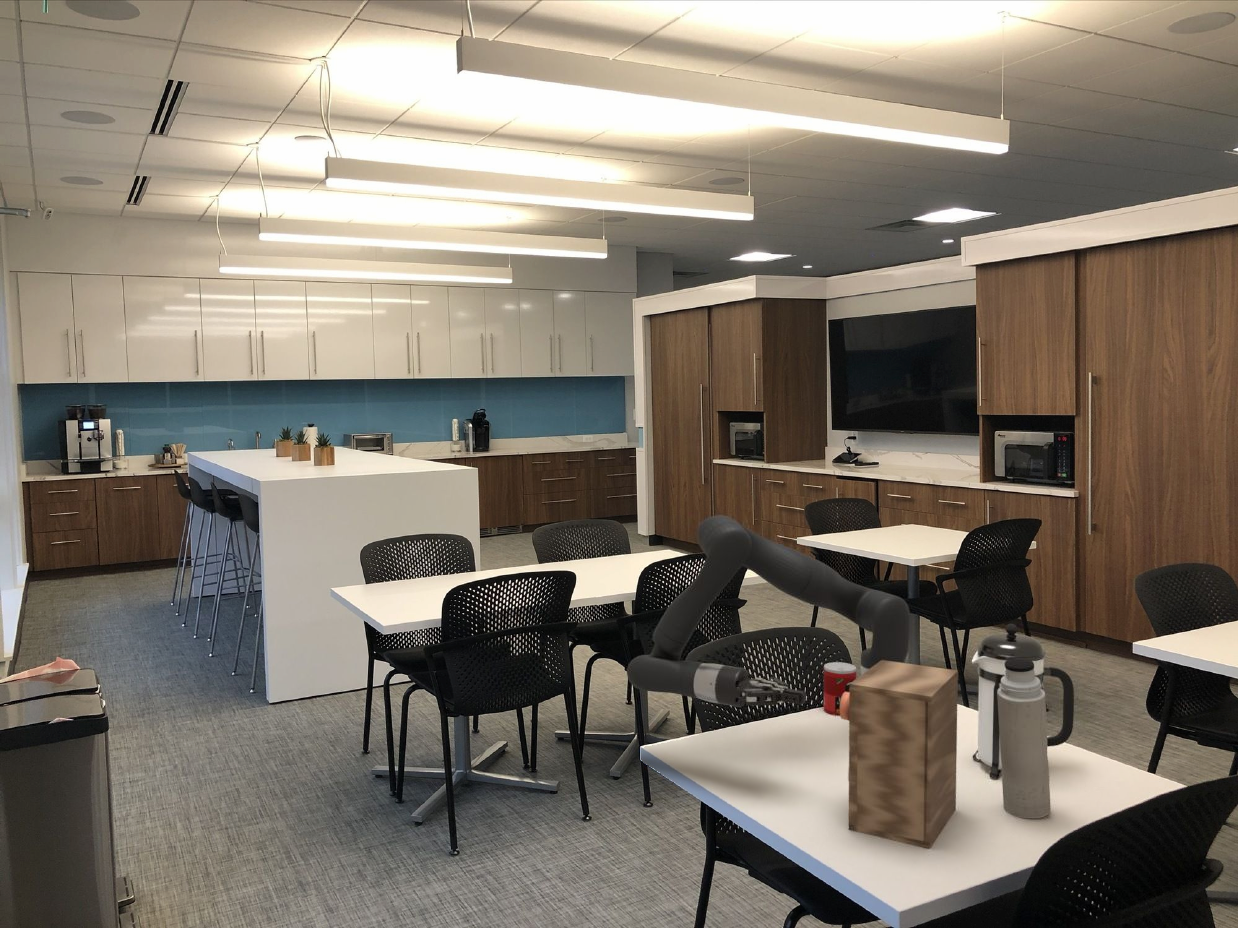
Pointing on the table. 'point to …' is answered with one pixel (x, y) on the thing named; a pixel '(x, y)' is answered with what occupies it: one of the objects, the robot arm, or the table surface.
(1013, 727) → the thermos bottle
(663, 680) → the robot arm
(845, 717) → the salmon round knob
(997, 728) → the coffee press
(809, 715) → the table surface
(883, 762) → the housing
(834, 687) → the canned food
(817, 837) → the table surface
